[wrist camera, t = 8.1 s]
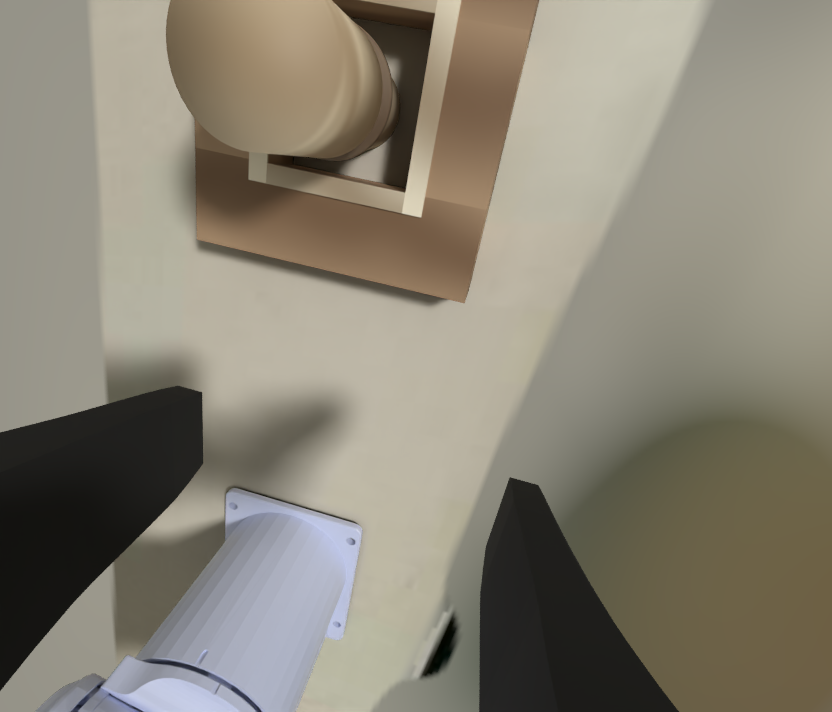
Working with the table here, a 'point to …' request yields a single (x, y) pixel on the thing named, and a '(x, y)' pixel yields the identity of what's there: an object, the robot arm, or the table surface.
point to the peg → (282, 76)
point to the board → (376, 202)
